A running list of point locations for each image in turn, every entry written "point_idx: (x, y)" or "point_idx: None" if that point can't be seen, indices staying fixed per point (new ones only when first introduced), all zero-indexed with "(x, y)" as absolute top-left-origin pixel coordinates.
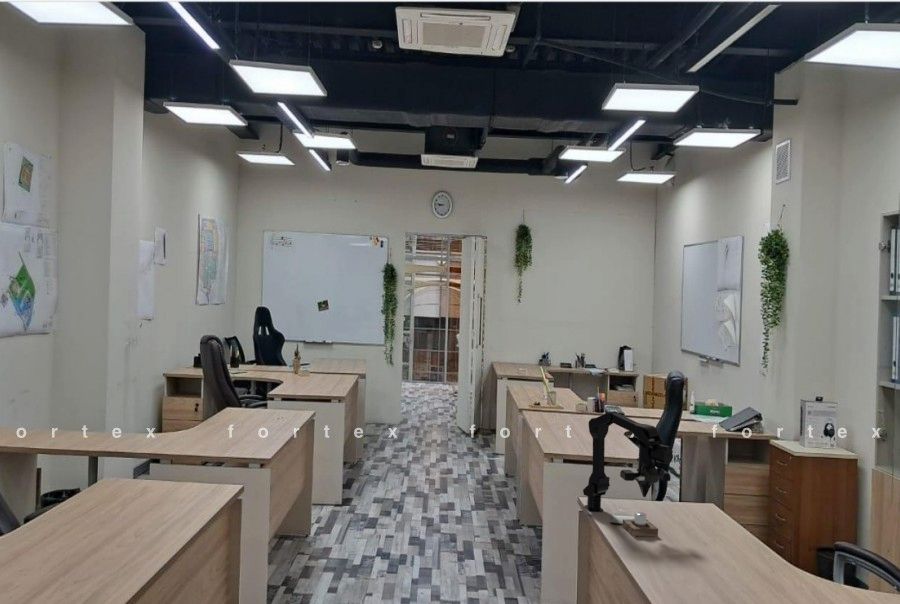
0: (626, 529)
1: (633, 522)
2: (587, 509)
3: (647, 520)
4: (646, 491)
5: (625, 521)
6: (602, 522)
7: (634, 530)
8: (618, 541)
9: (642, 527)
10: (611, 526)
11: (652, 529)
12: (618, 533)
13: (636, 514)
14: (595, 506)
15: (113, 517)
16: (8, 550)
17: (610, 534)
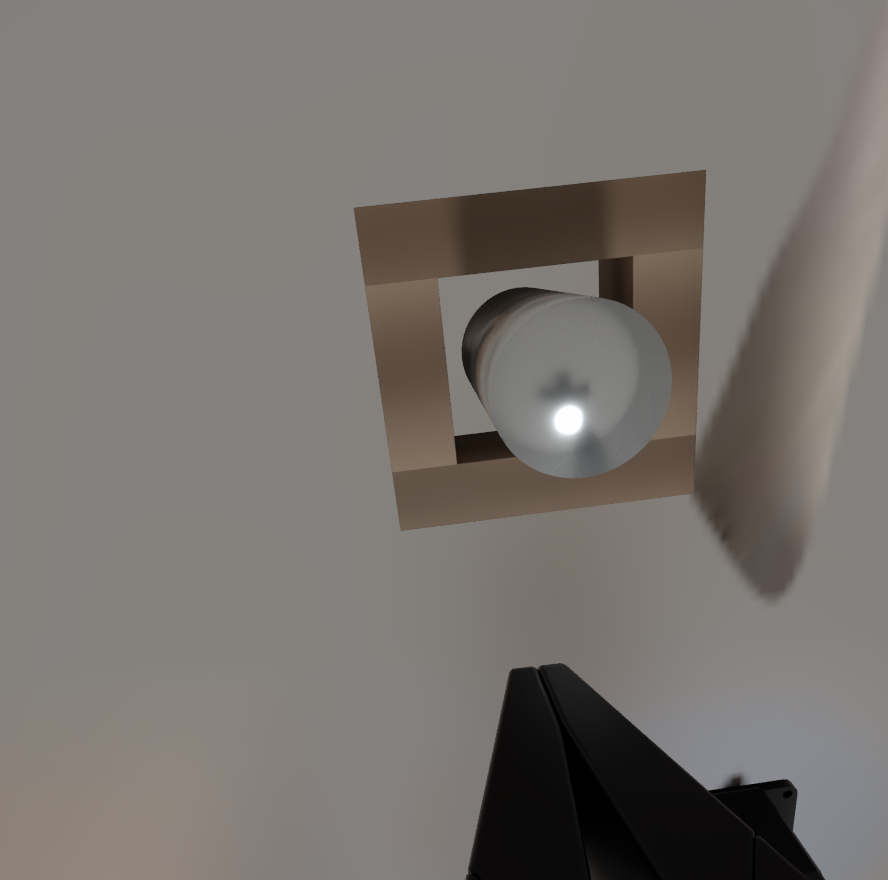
0: None
1: None
2: (789, 811)
3: (403, 492)
4: (547, 788)
5: (689, 437)
6: (788, 567)
7: (682, 175)
8: (876, 52)
9: (557, 243)
10: (748, 480)
11: (435, 201)
12: (763, 300)
13: (658, 368)
14: (773, 822)
15: None
16: None
17: (861, 266)
